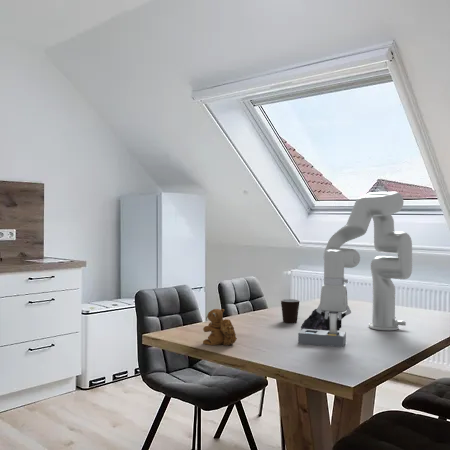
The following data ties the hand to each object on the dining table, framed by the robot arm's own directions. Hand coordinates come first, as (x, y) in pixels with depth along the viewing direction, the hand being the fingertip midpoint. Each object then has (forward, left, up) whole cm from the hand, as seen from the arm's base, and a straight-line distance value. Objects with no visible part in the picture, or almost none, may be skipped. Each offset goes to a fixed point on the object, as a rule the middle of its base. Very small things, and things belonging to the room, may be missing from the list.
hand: (333, 329), depth 211 cm
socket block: (+4, 0, -6) cm, 7 cm away
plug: (0, 0, -3) cm, 3 cm away
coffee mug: (+24, -37, -6) cm, 45 cm away
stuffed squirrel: (+41, +15, -6) cm, 44 cm away
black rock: (+10, -21, -6) cm, 25 cm away
